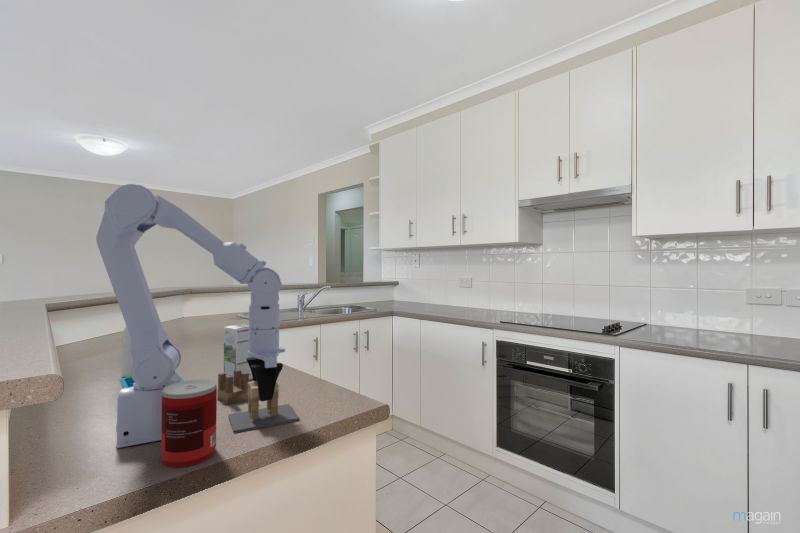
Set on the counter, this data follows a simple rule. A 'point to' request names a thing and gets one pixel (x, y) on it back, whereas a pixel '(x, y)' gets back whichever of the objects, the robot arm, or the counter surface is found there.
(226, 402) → the upturned walnut stool
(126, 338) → the milk bottle
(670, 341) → the counter surface
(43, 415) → the counter surface
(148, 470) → the counter surface
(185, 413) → the canned food
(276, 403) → the oak stool
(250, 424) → the mat
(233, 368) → the syrup box
